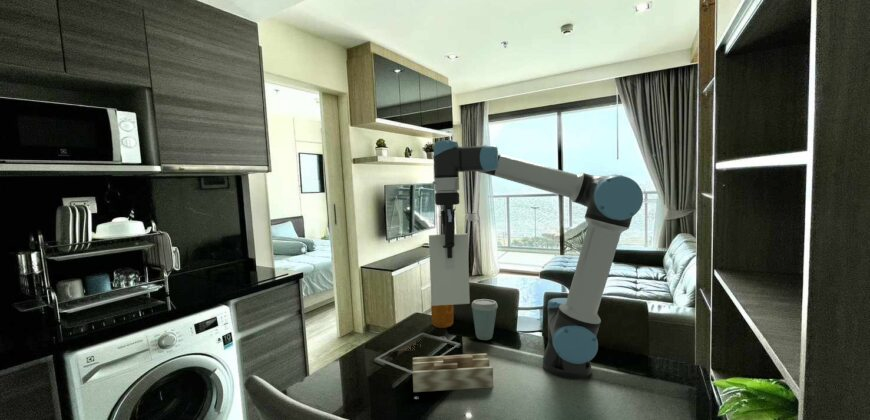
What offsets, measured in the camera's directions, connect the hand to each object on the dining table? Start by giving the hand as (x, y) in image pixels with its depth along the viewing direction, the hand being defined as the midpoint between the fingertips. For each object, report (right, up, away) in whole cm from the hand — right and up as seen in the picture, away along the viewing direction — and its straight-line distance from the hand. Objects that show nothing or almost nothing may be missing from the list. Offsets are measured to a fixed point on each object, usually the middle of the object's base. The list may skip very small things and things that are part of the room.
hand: (449, 267), depth 112 cm
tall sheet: (0, -12, +1) cm, 12 cm away
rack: (+1, -36, -1) cm, 37 cm away
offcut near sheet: (+3, -35, -1) cm, 36 cm away
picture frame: (-9, -36, +22) cm, 43 cm away
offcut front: (-1, -36, -3) cm, 36 cm away
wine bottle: (-1, -33, +47) cm, 58 cm away
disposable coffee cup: (+16, -34, +33) cm, 50 cm away
